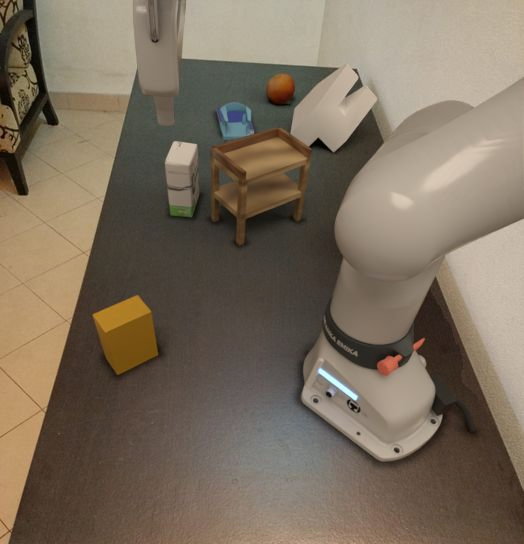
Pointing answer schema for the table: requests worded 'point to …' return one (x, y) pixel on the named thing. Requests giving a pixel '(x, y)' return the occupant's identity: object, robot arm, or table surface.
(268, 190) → the rack
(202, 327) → the table surface
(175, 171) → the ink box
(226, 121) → the chair
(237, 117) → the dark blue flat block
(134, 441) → the table surface
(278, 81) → the fruit
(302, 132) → the slotted wedge
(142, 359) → the yellow block
